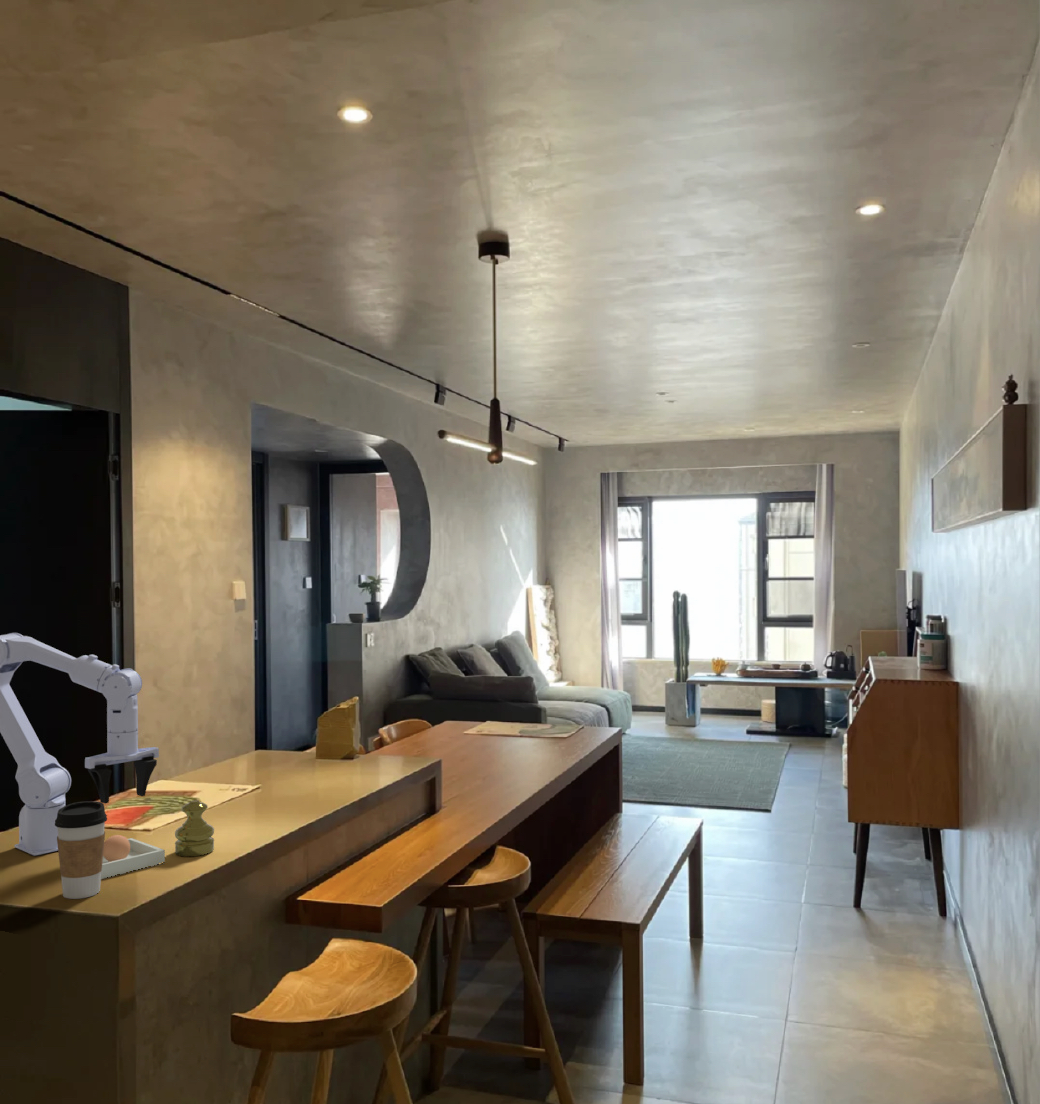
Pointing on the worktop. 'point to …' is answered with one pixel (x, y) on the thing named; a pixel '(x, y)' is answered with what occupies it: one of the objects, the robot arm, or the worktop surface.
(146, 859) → the tray
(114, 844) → the ball
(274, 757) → the worktop surface
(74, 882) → the coffee cup
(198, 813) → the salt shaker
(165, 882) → the worktop surface
